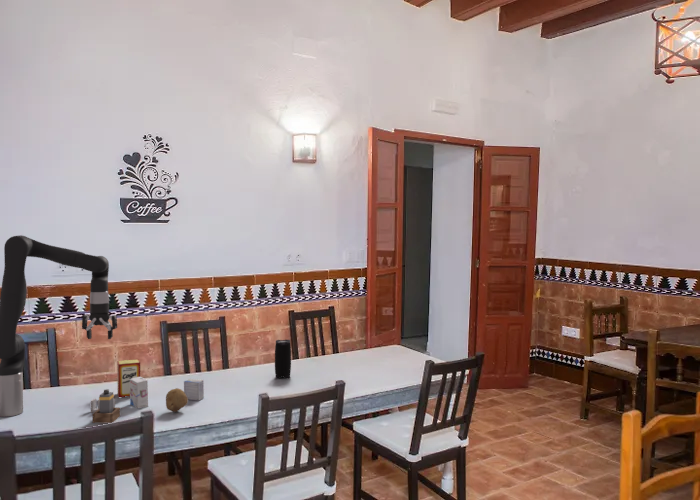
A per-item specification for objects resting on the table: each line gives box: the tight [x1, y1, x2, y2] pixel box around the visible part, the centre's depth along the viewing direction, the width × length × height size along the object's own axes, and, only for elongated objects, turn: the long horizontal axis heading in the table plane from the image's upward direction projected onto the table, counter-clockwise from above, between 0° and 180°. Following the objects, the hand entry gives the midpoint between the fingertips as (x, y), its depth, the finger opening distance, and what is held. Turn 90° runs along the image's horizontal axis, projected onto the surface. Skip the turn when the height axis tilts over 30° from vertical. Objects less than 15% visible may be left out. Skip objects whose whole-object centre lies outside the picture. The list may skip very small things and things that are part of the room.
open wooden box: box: [92, 407, 121, 424], centre depth 225 cm, size 8×8×4 cm
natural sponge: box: [165, 387, 189, 413], centre depth 235 cm, size 9×9×10 cm
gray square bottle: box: [98, 388, 115, 413], centre depth 225 cm, size 4×4×12 cm
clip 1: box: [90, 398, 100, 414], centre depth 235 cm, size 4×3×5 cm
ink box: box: [129, 376, 149, 409], centre depth 243 cm, size 9×5×12 cm, turn 45°
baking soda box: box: [116, 359, 141, 398], centre depth 259 cm, size 10×6×16 cm
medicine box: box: [183, 378, 205, 401], centre depth 253 cm, size 8×4×9 cm, turn 74°
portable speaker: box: [274, 339, 292, 379], centre depth 292 cm, size 9×9×20 cm
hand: (99, 338), depth 240 cm, fingers open, 8 cm apart
